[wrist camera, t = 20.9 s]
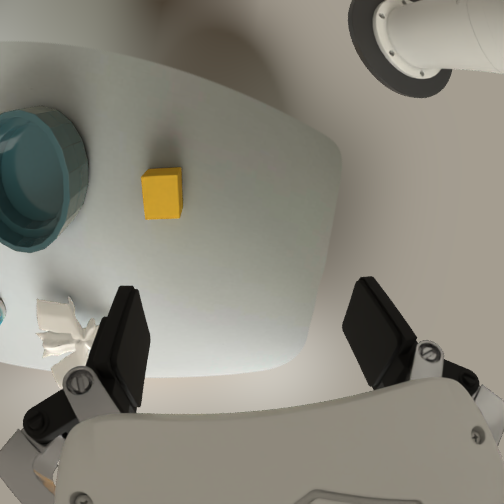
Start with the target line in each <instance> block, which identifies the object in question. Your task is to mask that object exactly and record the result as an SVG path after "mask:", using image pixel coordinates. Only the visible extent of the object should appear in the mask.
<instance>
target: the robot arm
mask: <svg viewBox="0 0 504 504" xmlns="http://www.w3.org/2000/svg"><path fill="white" fill-rule="evenodd" d="M373 31H374V36H375V38H376V41H377V44H378V46H379V48H380V50H381V51H382V53H383V54H384V56H385V57H386V59H387V60H388V61H389V62H390V63H391V64H392V65H393V66H394V67H395V68H396V69H397V70H399V71H400V72H402V73H403V74H405V75H407V76H409V77H412V78H417V79H427V78H431V77H433V76H435V75H436V74H437V73H438V72H439V71H440V70H441V69H462V70H475V71H485V72H493V73H500V74H504V0H420V1H417V2H412V1H410V0H385V1H383V2H382V3H380V4H379V5H378V6H377V8H376V10H375V11H374V15H373ZM342 329H343V332H344V334H345V336H346V338H347V340H348V342H349V344H350V346H351V349H352V350H353V353H354V355H355V357H356V359H357V361H358V363H359V365H360V367H361V370H362V372H363V374H364V376H365V378H366V380H367V382H368V385H369V386H372V388H373V389H374V390H373V391H369V392H365V393H361V394H357V395H353V396H349V397H344V398H339V399H335V400H330V401H324V402H319V403H313V404H307V405H301V406H295V407H288V408H280V409H271V410H262V411H251V412H240V413H239V412H238V413H220V414H150V413H147V414H145V413H144V414H143V413H136V410H137V407H140V406H141V401H142V393H143V386H144V379H145V372H146V365H147V359H148V353H149V347H150V333H149V329H148V326H147V322H146V318H145V315H144V311H143V307H142V303H141V299H140V295H139V291H138V289H134V287H133V286H119V288H118V291H117V293H116V296H115V298H114V301H113V303H112V306H111V309H110V311H109V314H108V317H103V318H102V320H101V322H100V325H99V328H98V330H97V333H96V336H95V339H94V341H93V344H92V347H91V350H90V353H89V356H88V359H87V362H86V366H77V367H74V368H72V369H70V370H69V371H68V372H67V373H66V374H65V376H64V378H63V383H62V386H63V389H61V390H60V391H58V392H57V393H55V394H53V395H52V396H50V397H49V398H47V399H45V400H44V401H42V402H41V403H39V404H37V405H36V406H34V407H32V408H31V409H30V410H28V411H27V413H26V414H25V416H24V419H23V427H24V428H23V429H22V430H19V429H18V430H17V431H16V432H15V434H14V435H13V436H12V437H11V438H10V439H9V440H8V442H7V443H6V444H5V445H4V447H3V448H2V449H1V450H0V477H1V479H2V480H3V481H4V482H5V484H6V485H7V486H8V488H9V489H10V490H11V491H12V493H13V494H14V495H15V496H16V497H17V499H18V500H19V501H20V502H21V503H22V504H504V462H503V459H502V456H501V454H500V451H499V449H498V444H499V442H500V439H501V437H502V434H503V432H504V401H503V400H502V399H501V398H499V397H498V396H497V395H495V394H494V393H493V392H491V391H490V390H489V389H488V388H486V387H485V386H484V385H481V386H479V380H478V377H477V376H476V374H475V373H473V372H472V371H471V370H469V369H466V368H464V367H462V366H459V365H457V364H454V363H452V362H450V361H447V360H445V359H444V353H443V351H442V349H441V348H440V346H439V345H437V344H436V343H434V342H432V341H429V340H423V341H420V342H419V343H417V341H416V339H417V337H416V335H415V334H414V332H413V331H412V329H411V328H410V326H409V325H408V323H407V322H406V321H405V319H404V318H403V316H402V315H401V313H400V312H399V311H398V309H397V308H396V307H395V305H394V304H393V302H392V301H391V300H390V298H389V297H388V296H387V294H386V293H385V292H384V290H383V289H382V288H381V286H380V285H379V284H378V282H377V281H376V280H375V279H374V277H372V276H370V277H361V278H360V279H359V281H357V282H356V284H355V286H354V290H353V293H352V296H351V300H350V303H349V306H348V309H347V312H346V315H345V318H344V321H343V324H342ZM59 460H60V461H59ZM58 461H59V465H57V462H58ZM57 467H58V472H57V479H56V486H55V485H54V482H53V473H54V471H55V469H56V468H57Z"/></svg>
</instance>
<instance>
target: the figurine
mask: <svg viewBox="0 0 504 504" xmlns="http://www.w3.org/2000/svg"><path fill="white" fill-rule="evenodd" d="M68 304H69V305H68ZM68 304H61V303H57V302H52V301H45V300H39V299H37V321H38V325H39V329H40V330H44V331H46V330H48V332H44V333H36V334H37V335H38V336H39V337H40V338H41V339H42V341H43V347H44V348H45V349H44V353H43V357H42V358H44V357H48V356H51V355H55V356H58V355H61V354H62V353H66V352H73V353H72V354H70V355H69V356H66V357H65V358H64V359H63V360H61V361H60V362H59V363H57V364H55V365H54V366H53V367H52V368H51V370H52V373H53V376H54V378H55V380H56V382H57V384H58V386H59V387H60V389H63V386H62V383H63V378H64V376H65V374H66V373H67V372H68V371H69V370H70V369H72V368H74V367H77V366H86V362H87V359H88V350H89V349H91V347H92V344H93V341H94V339H95V336H96V333H97V330H98V328H99V325H97V326H96V324H95V320H94V318H91V319H90V321H89V323H88V325H87V327H86V328H82V327H81V325H80V324H79V322H78V320H77V319H76V316H75V306H74V304H73V302H72V300H71V298H70V297H69V296H68Z"/></svg>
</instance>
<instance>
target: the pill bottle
mask: <svg viewBox="0 0 504 504" xmlns="http://www.w3.org/2000/svg"><path fill="white" fill-rule="evenodd" d="M5 315H6V310H5V306H4V304H3V302H2V301H1V299H0V324H1V323H2V321H3V319H4V318H5Z"/></svg>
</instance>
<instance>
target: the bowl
mask: <svg viewBox="0 0 504 504" xmlns="http://www.w3.org/2000/svg"><path fill="white" fill-rule="evenodd" d="M87 187H88V160H87V156H86V152H85V148H84V144H83V141H82V139H81V137H80V135H79V134H78V132H77V130H76V129H75V127H74V125H73V123H72V122H71V121H70V120H69V119H67V118H66V117H65V116H64V115H63V114H62V113H60V112H59V111H58V110H55V109H52V108H49V107H45V106H36V107H30V108H24V109H18V110H13V111H8V112H4V113H2V114H0V242H1V243H2V244H3V245H5V246H7V247H9V248H11V249H13V250H15V251H19V252H27V253H32V252H36V251H39V250H43V249H45V248H46V247H47V246H49V245H50V244H51V243H52V242H53V241H54V240H55V239H57V238H58V236H59V235H60V234H61V233H62V232H63V231H64V230H65V229H66V228H67V227H68V226H69V225H70V223H71V222H72V221H73V220H74V219H75V217H76V216H77V214H78V212H79V210H80V209H81V207H82V205H83V203H84V199H85V195H86V191H87Z"/></svg>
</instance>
